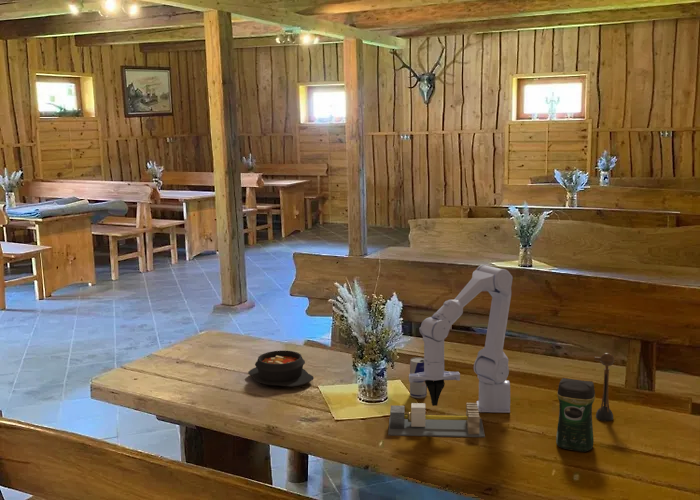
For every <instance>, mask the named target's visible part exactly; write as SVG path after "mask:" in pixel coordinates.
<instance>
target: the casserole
mask: <svg viewBox="0 0 700 500" xmlns="http://www.w3.org/2000/svg"><path fill="white" fill-rule="evenodd" d="M305 364H306V363H305V359H304V358H303V356H302V354H301V353H299V352H297V351H292V350H273V351H268V352H264V353H262V354H260V355H259V356H258V357H257V360H256V362H255V364H254V365H255V366H254V367H253V368H251V369H250V370H249V371H248V372H247V375H249V376H250V377H252V378H253V380H254V381H256V382H257V383H260V384H261V385H262V384H263V385H267V386H272V387H276V386H277V387H289V388H290V387H291V388H293V387H298V386H303V385H305V384H308V383H311V382H312V381H313V380H314V378H315V377H314V376H313V374H310V373H308V372H307V370H306V369H304V368H303V366H304V365H305Z"/></svg>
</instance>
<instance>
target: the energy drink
mask: <svg viewBox="0 0 700 500" xmlns="http://www.w3.org/2000/svg"><path fill="white" fill-rule="evenodd" d="M420 372H424V357H418V356H415V357H412V358H410V362H409V374H414V373H420ZM409 395H410V397H411V398H413V399H424V398H426V396H427V395H428V388H427V386H426V383H425V381H416V382H413V383H410V382H409Z"/></svg>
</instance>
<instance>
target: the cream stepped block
mask: <svg viewBox="0 0 700 500" xmlns="http://www.w3.org/2000/svg"><path fill="white" fill-rule="evenodd" d="M410 408H411V410H410V412H411V427H425V415H426V403H422V402H421V403H420V402H419V403H418V402H416V403H415V402H411V407H410Z"/></svg>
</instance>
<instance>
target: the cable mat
mask: <svg viewBox="0 0 700 500" xmlns="http://www.w3.org/2000/svg"><path fill="white" fill-rule="evenodd" d="M485 434H486V433H485V429H484V425H483V419H482V418H481V417H480V423H479V434H468V428H467V421H466V420H426V419H425V427H411V422H408V419H405V426H404V429H390V418H389V421H388V433H387V435H388V436H398V437H400V436H401V437H403V436H405V437H406V436H407V437H413V436H414V437H451V438H452V437H453V438H454V437H456V438H486V435H485Z"/></svg>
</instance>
